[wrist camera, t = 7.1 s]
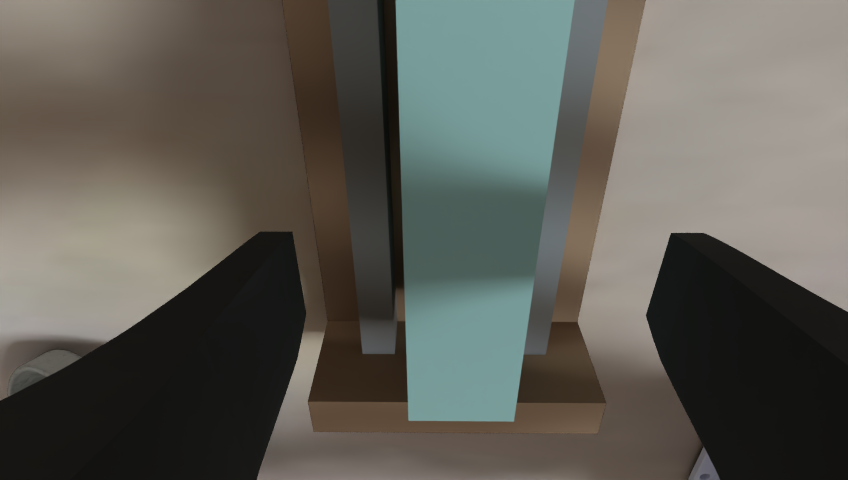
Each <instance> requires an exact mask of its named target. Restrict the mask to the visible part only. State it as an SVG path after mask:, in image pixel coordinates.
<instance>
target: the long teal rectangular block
mask: <svg viewBox="0 0 848 480" xmlns="http://www.w3.org/2000/svg"><path fill="white" fill-rule="evenodd" d="M574 2H575V0H396V28H397V61H398V94H399V126H400V159H401V192H402V224H403V257H404V290H405V322H406V355H407V388H408V420H409V421H508V422H514V417H515V411H516V404H517V397H518V390H519V383H520V376H521V369H522V362H523V355H524V348H525V341H526V334H527V327H528V320H529V313H530V307H531V300H532V293H533V286H534V279H535V272H536V265H537V258H538V251H539V244H540V237H541V230H542V223H543V217H544V210H545V203H546V196H547V189H548V182H549V175H550V168H551V161H552V154H553V147H554V140H555V133H556V126H557V119H558V113H559V106H560V99H561V92H562V85H563V78H564V71H565V64H566V57H567V50H568V43H569V36H570V29H571V23H572V16H573V9H574Z"/></svg>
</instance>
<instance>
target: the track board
mask: <svg viewBox="0 0 848 480" xmlns="http://www.w3.org/2000/svg"><path fill="white" fill-rule="evenodd" d="M645 1H646V0H575V2H574V9H573V16H572V23H571V29H570V36H569V43H568V50H567V57H566V64H565V71H564V78H563V85H562V92H561V99H560V106H559V113H558V119H557V126H556V133H555V140H554V147H553V154H552V161H551V168H550V175H549V182H548V189H547V196H546V203H545V210H544V217H543V223H542V230H541V237H540V244H539V251H538V258H537V265H536V272H535V279H534V286H533V293H532V300H531V307H530V313H529V320H528V327H527V334H526V341H525V348H524V355H523V362H522V369H521V376H520V383H519V390H518V397H517V404H516V411H515V417H514V422H508V421H409V420H408V388H407V355H406V322H405V290H404V257H403V224H402V192H401V159H400V126H399V94H398V61H397V28H396V0H282V4H283V11H284V18H285V25H286V32H287V39H288V46H289V53H290V60H291V67H292V74H293V81H294V88H295V95H296V102H297V109H298V116H299V123H300V130H301V137H302V144H303V151H304V158H305V165H306V172H307V178H308V185H309V192H310V199H311V206H312V213H313V220H314V227H315V234H316V241H317V248H318V255H319V262H320V269H321V276H322V283H323V290H324V297H325V304H326V311H327V318H328V323H327V327H326V331H325V335H324V339H323V343H322V347H321V351H320V355H319V359H318V363H317V367H316V371H315V375H314V379H313V383H312V387H311V391H310V395H309V399H308V405H309V410H310V415H311V421H312V426H313V431H314V432H426V433H582V434H598V431H599V427H600V424H601V420H602V417H603V413H604V410H605V406H606V401H605V398H604V396H603V393H602V390H601V387H600V384H599V381H598V379H597V376H596V373H595V370H594V367H593V365H592V362H591V359H590V356H589V353H588V350H587V348H586V345H585V342H584V339H583V336H582V334H581V331H580V328H579V325H578V317H579V312H580V307H581V303H582V298H583V293H584V289H585V284H586V279H587V274H588V270H589V265H590V260H591V255H592V251H593V246H594V241H595V237H596V232H597V227H598V222H599V218H600V213H601V208H602V204H603V199H604V194H605V189H606V185H607V180H608V175H609V171H610V166H611V161H612V156H613V152H614V147H615V142H616V137H617V133H618V128H619V123H620V119H621V114H622V109H623V104H624V100H625V95H626V90H627V86H628V81H629V76H630V71H631V67H632V62H633V57H634V53H635V48H636V43H637V38H638V34H639V29H640V24H641V19H642V15H643V10H644V5H645Z"/></svg>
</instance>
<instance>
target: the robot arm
mask: <svg viewBox="0 0 848 480" xmlns="http://www.w3.org/2000/svg"><path fill="white" fill-rule="evenodd" d="M305 317H306V310H305V304H304V298H303V292H302V286H301V281H300V275H299V269H298V263H297V257H296V251H295V246H294V240H293V234H292V232H259V233H258V234H256V235H255V236H254V237H252V238H251V239H249V240H248V241H247V242H245V243H244V244H243V245H242V246H240V247H239V248H238V249H236V250H235V251H234V252H233V253H231V254H230V255H229V256H228V257H226V258H225V259H224V260H223V261H221V262H220V263H219V264H217V265H216V266H215V267H214V268H212V269H211V270H210V271H208V272H207V273H206V274H204V275H203V276H202V277H201V278H199V279H198V280H197V281H195V282H194V283H193V284H191V285H190V286H189V287H188V288H186V289H185V290H184V291H182V292H181V293H179V294H178V295H177V296H175V297H174V298H172V299H171V300H169V301H168V302H167V303H165V304H164V305H162V306H161V307H159V308H158V309H157V310H155V311H154V312H152V313H151V314H150V315H148V316H147V317H145V318H144V319H142V320H141V321H140V322H138V323H137V324H135V325H134V326H132V327H131V328H129V329H128V330H126V331H125V332H123V333H121V334H120V335H118V336H117V337H115V338H113V339H112V340H110V341H109V342H107V343H106V344H104V345H102V346H100V347H99V348H97V349H95V350H94V351H92V352H90V353H89V354H87V355H85V356H83V357H82V358H80V359H78V360H77V361H75V362H73V363H72V364H70V365H68V366H66V367H64V368H63V369H61V370H59V371H57V372H55V373H53V374H51V375H49V376H48V377H46V378H44V379H42V380H40V381H38V382H36V383H34V384H32V385H30V386H28V387H26V388H24V389H22V390H20V391H18V392H17V393H15V394H13V395H11V396H9V397H7V398H5V399H3V400H1V401H0V480H257V476H258V473H259V470H260V466H261V463H262V460H263V457H264V454H265V452H266V449H267V446H268V443H269V440H270V437H271V434H272V431H273V428H274V426H275V423H276V420H277V417H278V414H279V411H280V408H281V405H282V403H283V400H284V397H285V394H286V391H287V388H288V385H289V382H290V379H291V376H292V373H293V370H294V367H295V364H296V361H297V357H298V353H299V348H300V343H301V339H302V333H303V328H304V323H305ZM646 317H647V321H648V324H649V327H650V330H651V333H652V337H653V340H654V343H655V346H656V348H657V351H658V354H659V357H660V360H661V362H662V364H663V366H664V368H665V371H666V373H667V375H668V377H669V379H670V381H671V383H672V385H673V387H674V389H675V391H676V393H677V395H678V397H679V399H680V401H681V403H682V405H683V407H684V409H685V411H686V413H687V415H688V417H689V418H690V420H691V422H692V424H693V426H694V428H695V430H696V432H697V434H698V436H699V438H700V440H701V442H702V444H703V446H704V447H703V449H702V451H701V453H700V455H699V458H698V460H697V462H696V464H695V466H694V468H693V470H692V472H691V474H690V476H689V479H688V480H848V312H847V311H845V310H843V309H841V308H839V307H838V306H836V305H834V304H832V303H830V302H828V301H827V300H825V299H823V298H821V297H819V296H817V295H816V294H814V293H812V292H810V291H809V290H807V289H805V288H803V287H801V286H800V285H798V284H796V283H794V282H793V281H791V280H789V279H787V278H786V277H784V276H782V275H780V274H779V273H777V272H775V271H774V270H772V269H770V268H768V267H767V266H765V265H763V264H761V263H760V262H758V261H756V260H754V259H753V258H751V257H749V256H747V255H746V254H744V253H742V252H740V251H738V250H737V249H735V248H733V247H731V246H729V245H727V244H725V243H724V242H722V241H720V240H718V239H716V238H714V237H711V236H709V235H707V234H705V233H671V235H670V238H669V242H668V245H667V248H666V251H665V255H664V258H663V261H662V264H661V268H660V271H659V274H658V278H657V281H656V284H655V287H654V291H653V294H652V297H651V301H650V304H649V307H648V310H647V314H646Z"/></svg>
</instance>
